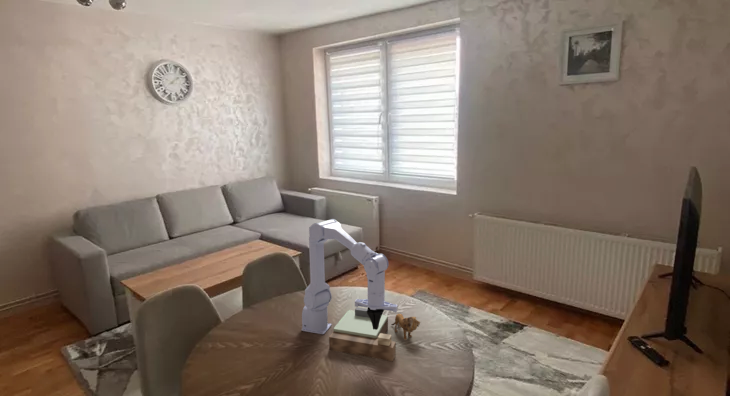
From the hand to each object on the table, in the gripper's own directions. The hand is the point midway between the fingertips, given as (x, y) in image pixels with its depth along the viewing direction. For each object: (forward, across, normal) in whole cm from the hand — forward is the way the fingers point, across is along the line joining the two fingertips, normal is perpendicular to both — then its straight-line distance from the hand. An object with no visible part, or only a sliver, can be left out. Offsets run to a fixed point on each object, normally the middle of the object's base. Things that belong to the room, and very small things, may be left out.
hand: (375, 328), depth 143 cm
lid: (+5, -8, +10) cm, 14 cm away
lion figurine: (+10, +6, +17) cm, 21 cm away
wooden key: (+5, +3, 0) cm, 6 cm away
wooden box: (+10, -5, +8) cm, 14 cm away
